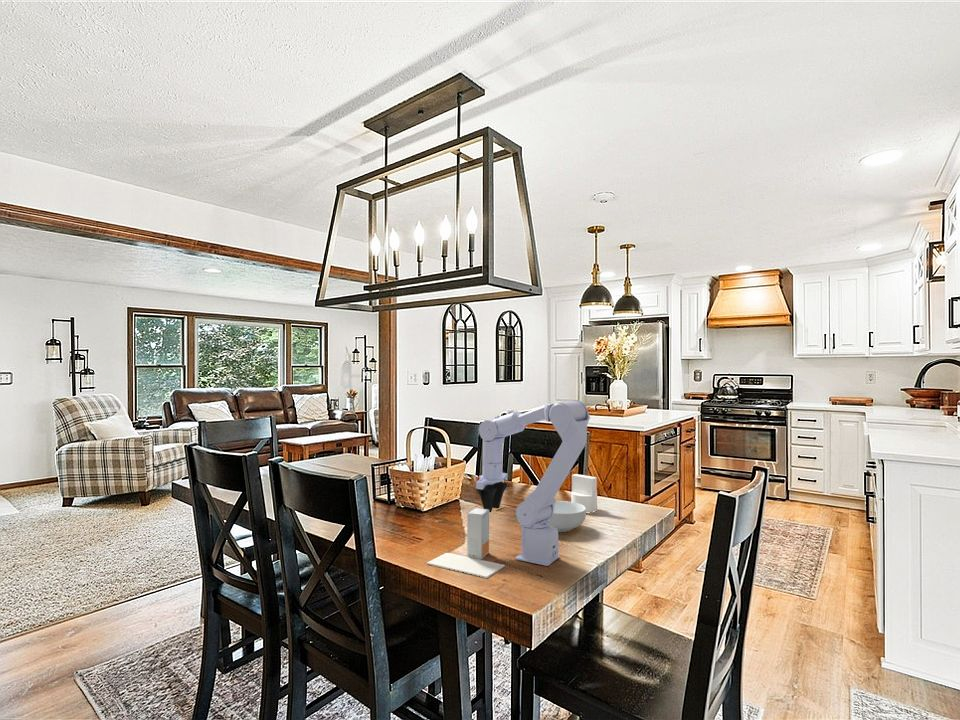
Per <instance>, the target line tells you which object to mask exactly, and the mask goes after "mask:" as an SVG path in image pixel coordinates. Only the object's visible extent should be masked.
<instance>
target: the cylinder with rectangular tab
mask: <svg viewBox="0 0 960 720" xmlns="http://www.w3.org/2000/svg"><path fill="white" fill-rule="evenodd" d="M597 481H598V480H597V477H596V476H591V475H590V476H589V475H586V474H585V475H584V474H578V473H574V474H572V475H571V493H570V494H571V495H570V496H571V500H570V502H574V503H578V504H581V505H583V506H585V507H586V512H593V511H595V510H597V511H598V494H597V493H598V492H597V491H598V490H597V488H598V487H597Z"/></svg>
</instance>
